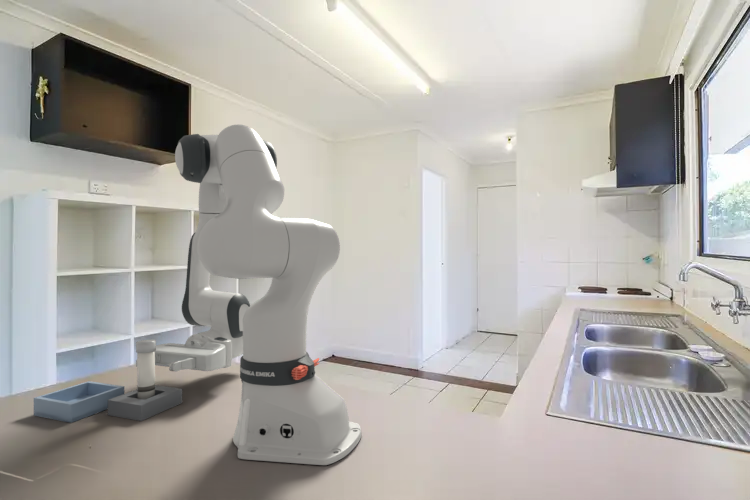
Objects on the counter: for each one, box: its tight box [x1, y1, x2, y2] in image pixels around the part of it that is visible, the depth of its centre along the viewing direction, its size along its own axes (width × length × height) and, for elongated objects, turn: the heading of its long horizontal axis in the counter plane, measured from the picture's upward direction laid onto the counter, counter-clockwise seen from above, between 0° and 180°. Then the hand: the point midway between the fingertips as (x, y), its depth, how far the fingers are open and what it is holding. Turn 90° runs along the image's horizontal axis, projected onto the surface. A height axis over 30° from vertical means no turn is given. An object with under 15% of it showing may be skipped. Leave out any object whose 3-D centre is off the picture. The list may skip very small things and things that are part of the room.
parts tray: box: [33, 380, 125, 424], centre depth 84 cm, size 11×11×4 cm
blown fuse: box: [135, 338, 157, 400], centre depth 84 cm, size 4×4×14 cm
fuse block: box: [107, 384, 183, 422], centre depth 84 cm, size 9×10×3 cm
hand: (154, 365), depth 86 cm, fingers open, 8 cm apart
